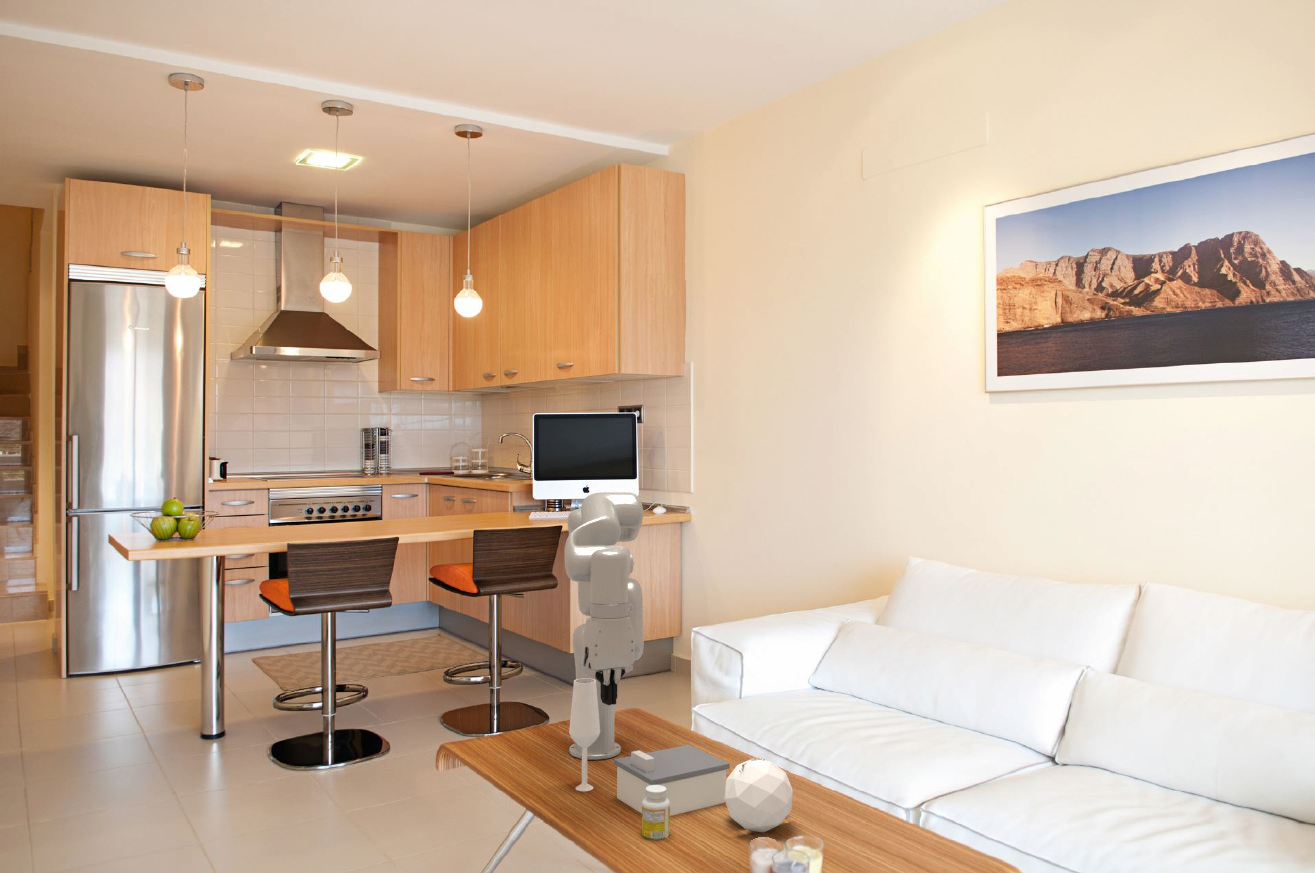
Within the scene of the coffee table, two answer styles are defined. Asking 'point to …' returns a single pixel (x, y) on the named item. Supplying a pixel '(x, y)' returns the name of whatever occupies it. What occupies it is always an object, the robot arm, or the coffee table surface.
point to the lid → (670, 764)
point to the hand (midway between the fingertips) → (608, 703)
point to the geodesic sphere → (758, 795)
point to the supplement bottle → (655, 813)
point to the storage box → (675, 791)
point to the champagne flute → (584, 721)
